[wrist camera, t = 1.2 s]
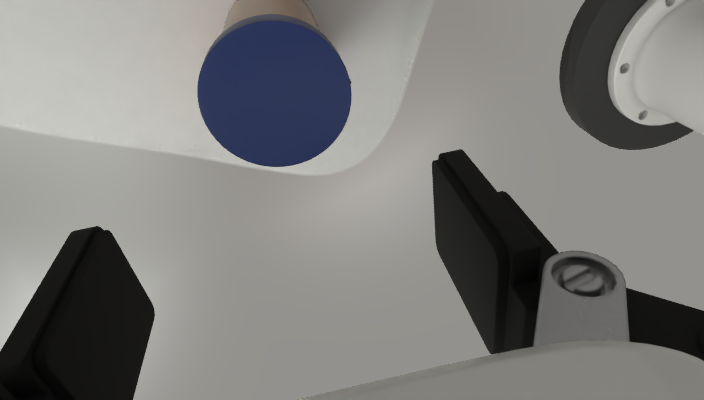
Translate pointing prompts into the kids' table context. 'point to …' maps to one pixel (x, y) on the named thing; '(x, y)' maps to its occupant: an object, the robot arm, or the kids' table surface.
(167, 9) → the kids' table surface
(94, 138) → the kids' table surface
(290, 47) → the lid
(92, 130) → the kids' table surface
